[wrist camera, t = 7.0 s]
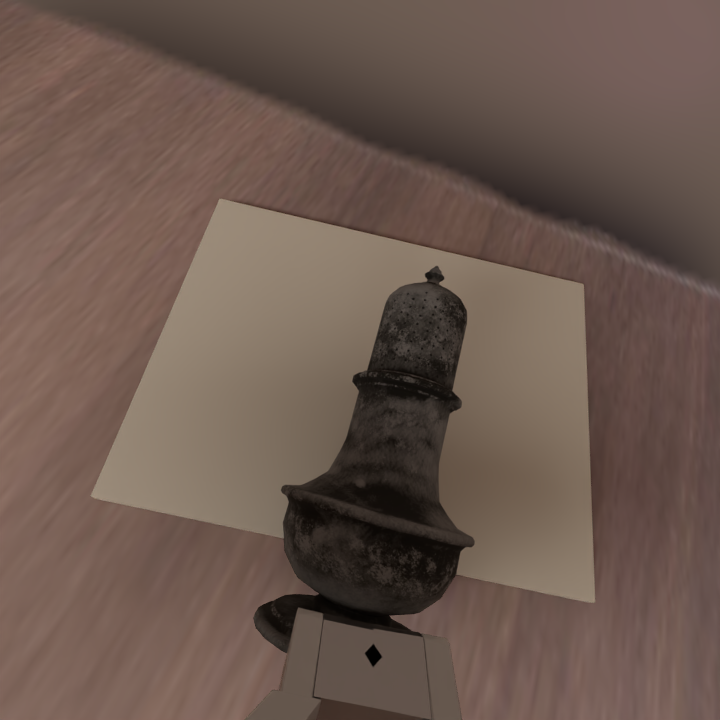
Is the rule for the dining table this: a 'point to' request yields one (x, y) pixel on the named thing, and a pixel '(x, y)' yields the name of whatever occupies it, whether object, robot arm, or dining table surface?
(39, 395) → the dining table surface
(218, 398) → the placemat
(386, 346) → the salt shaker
